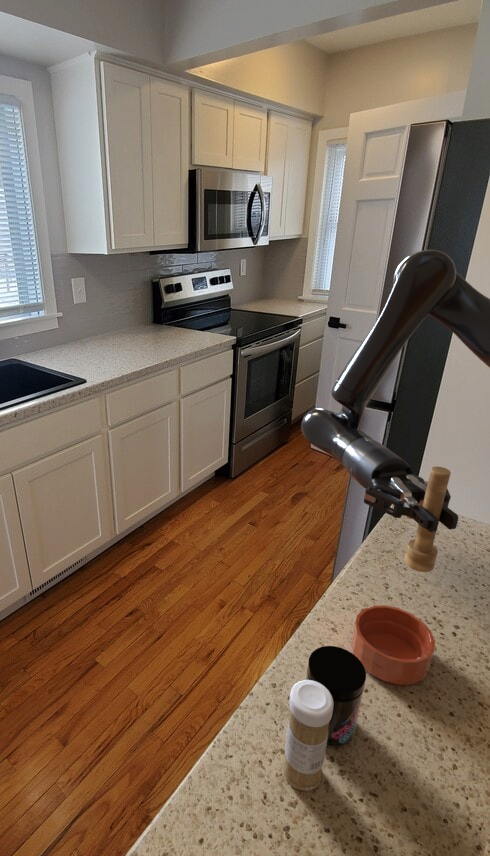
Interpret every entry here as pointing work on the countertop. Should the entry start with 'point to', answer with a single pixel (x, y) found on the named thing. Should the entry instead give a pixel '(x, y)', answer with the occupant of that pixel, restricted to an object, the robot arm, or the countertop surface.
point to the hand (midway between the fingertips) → (444, 525)
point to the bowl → (393, 644)
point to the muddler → (422, 548)
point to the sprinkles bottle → (307, 734)
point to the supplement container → (339, 689)
